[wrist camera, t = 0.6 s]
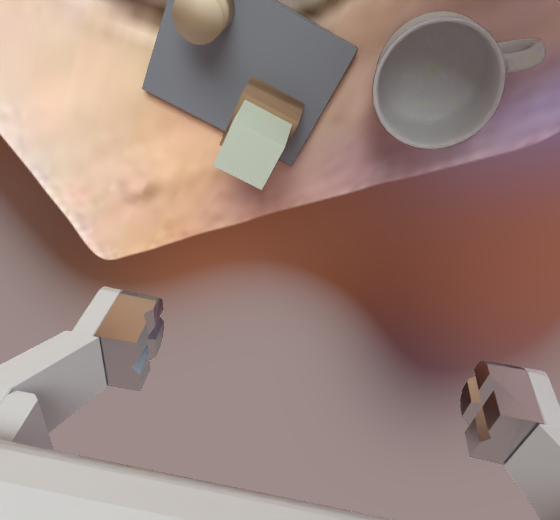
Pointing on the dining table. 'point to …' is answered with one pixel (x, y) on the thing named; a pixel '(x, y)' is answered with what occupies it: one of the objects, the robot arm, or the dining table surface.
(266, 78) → the slate board
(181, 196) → the dining table surface
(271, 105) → the walnut base block
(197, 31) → the beech cylinder
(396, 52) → the teacup
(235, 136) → the sage top block
